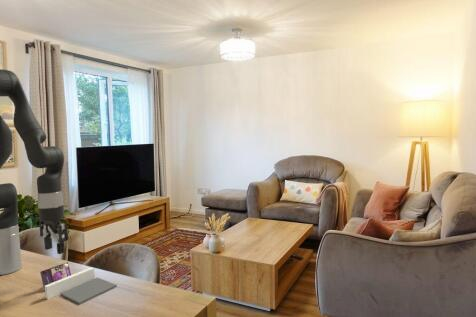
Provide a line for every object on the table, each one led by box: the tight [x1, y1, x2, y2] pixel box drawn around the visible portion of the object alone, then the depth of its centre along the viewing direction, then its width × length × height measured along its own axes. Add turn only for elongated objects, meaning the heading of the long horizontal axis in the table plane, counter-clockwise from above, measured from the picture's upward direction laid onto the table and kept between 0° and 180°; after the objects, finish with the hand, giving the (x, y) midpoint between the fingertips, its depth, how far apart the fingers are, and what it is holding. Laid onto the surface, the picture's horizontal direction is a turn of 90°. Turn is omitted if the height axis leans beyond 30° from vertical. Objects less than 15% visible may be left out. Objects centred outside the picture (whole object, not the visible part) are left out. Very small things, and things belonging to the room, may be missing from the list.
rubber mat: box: [59, 277, 118, 305], centre depth 107 cm, size 11×13×1 cm
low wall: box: [44, 266, 96, 300], centre depth 109 cm, size 2×16×4 cm, turn 146°
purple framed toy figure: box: [39, 262, 72, 292], centre depth 112 cm, size 7×5×9 cm
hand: (54, 251), depth 113 cm, fingers open, 8 cm apart
